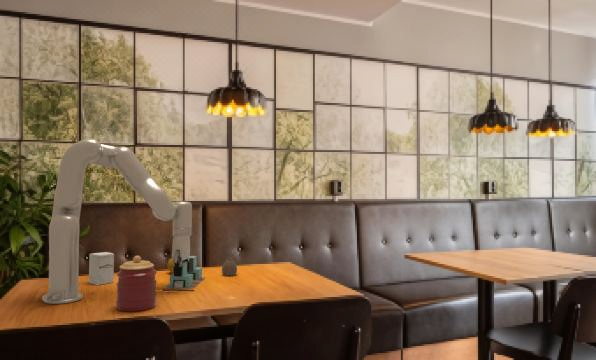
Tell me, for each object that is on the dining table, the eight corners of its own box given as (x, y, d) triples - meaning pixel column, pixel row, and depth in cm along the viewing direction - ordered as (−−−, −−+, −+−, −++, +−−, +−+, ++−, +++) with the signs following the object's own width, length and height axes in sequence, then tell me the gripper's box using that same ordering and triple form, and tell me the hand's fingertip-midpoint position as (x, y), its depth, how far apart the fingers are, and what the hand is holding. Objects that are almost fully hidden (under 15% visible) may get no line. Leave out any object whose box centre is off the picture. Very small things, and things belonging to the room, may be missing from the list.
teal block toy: (169, 287, 177) (169, 263, 177) (174, 284, 182) (174, 261, 182) (189, 287, 176) (189, 263, 176) (193, 284, 182) (193, 261, 182)
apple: (165, 274, 207) (165, 255, 207) (184, 272, 211) (185, 254, 211) (168, 278, 199) (168, 258, 199) (188, 276, 203) (188, 257, 203)
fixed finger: (201, 277, 196) (202, 256, 196) (198, 280, 190) (198, 258, 190) (184, 277, 196) (184, 255, 196) (180, 279, 190) (180, 257, 191)
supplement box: (97, 285, 183) (97, 255, 183) (88, 283, 187) (88, 253, 187) (114, 282, 189) (114, 253, 189) (104, 280, 193) (105, 251, 193)
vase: (238, 276, 205) (238, 257, 205) (234, 279, 198) (235, 259, 198) (224, 275, 205) (224, 256, 206) (219, 278, 199) (220, 259, 199)
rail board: (192, 291, 174) (192, 282, 174) (162, 290, 175) (162, 282, 175) (206, 279, 196) (206, 271, 196) (180, 279, 197) (180, 271, 197)
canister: (160, 301, 158) (161, 252, 159) (149, 312, 145) (150, 258, 146) (124, 301, 158) (124, 252, 158) (110, 312, 145) (110, 258, 145)
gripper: (179, 229, 188) (179, 269, 188) (165, 234, 171) (165, 278, 171) (197, 229, 188) (196, 270, 188) (184, 234, 171) (184, 278, 171)
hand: (181, 273), depth 179 cm, fingers open, 9 cm apart
